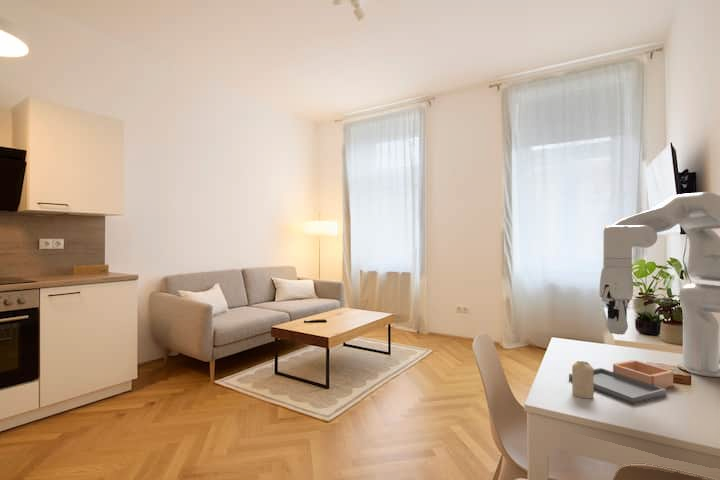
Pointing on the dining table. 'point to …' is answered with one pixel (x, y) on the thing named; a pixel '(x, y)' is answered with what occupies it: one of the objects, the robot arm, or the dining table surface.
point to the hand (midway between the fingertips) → (617, 320)
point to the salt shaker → (622, 324)
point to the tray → (624, 387)
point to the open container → (645, 373)
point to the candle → (583, 380)
